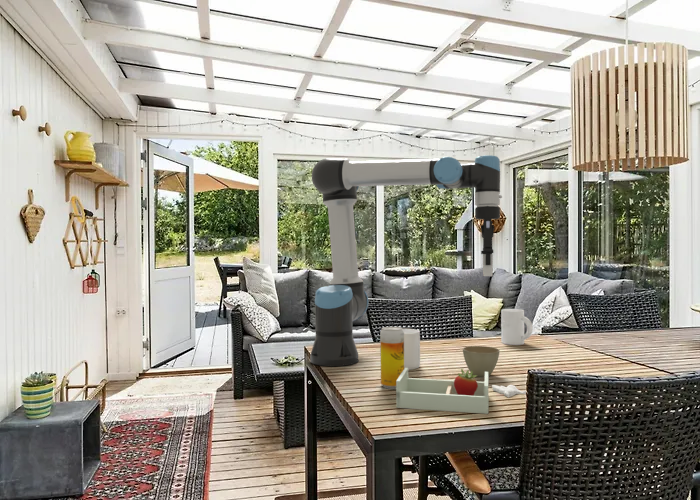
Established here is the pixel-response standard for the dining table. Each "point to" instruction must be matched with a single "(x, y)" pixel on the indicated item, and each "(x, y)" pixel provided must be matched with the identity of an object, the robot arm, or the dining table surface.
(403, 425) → the dining table surface
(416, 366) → the mug
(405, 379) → the crate
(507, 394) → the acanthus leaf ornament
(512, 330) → the mug
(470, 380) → the fruit
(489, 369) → the flower pot
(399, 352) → the beer can
